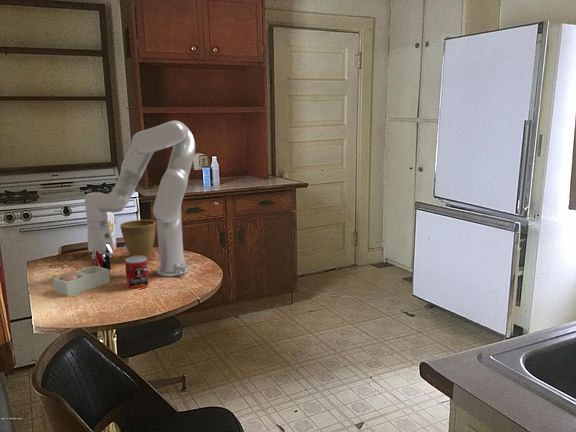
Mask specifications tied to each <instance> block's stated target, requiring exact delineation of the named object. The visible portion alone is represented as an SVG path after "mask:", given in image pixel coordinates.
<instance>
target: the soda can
mask: <svg viewBox="0 0 576 432" xmlns="http://www.w3.org/2000/svg"><path fill="white" fill-rule="evenodd" d="M105 253H107V251H106V252H105ZM93 254H94V259H93V260H94V263H95V266H98V267H101V268H103V266H102V262H103V259H102V255H101V254H99V253H98V251H97V250H94V251H93ZM106 256H107V255H105V257H106ZM110 274H111V270H109V275H110Z"/></svg>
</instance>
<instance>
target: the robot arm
mask: <svg viewBox="0 0 576 432" xmlns="http://www.w3.org/2000/svg"><path fill="white" fill-rule="evenodd" d="M169 147H172V150H171V155H170V157H169V161H168V164H167V165H168V166H167V168H166V171H165V172H164V174H163V175H162V177H161V179H160V182H159V186H158V190H157V193H156V197H155V200H154V202H153V203H154V204H153V207H152V213H153V216H154V219H156V232H157V245H158V246H157V247H158V257H159V267H158V268H156V270H155V272H156V275H158V276H161V277H176V276H181V275H184V274H187V273H188V271H189V269H190V268H191V266H190V265H189V264H187V261H186V260H185V258H184V245H183V244H184V242H183V241H184V240H183V224H182V223H183V221H182V203H183V199H184V196H185V194H186V189H187V187H188V182H189V176H190V173H191V169H192V166H193V161H194V157H195V153H196V141H195V138H194V135H193V133H192V132H191V130H190V129H189V127H188V126H187V125H185V124H184V123H183V122H181V121H179V120H171V121H167V122H164V123H161V124H159V125H157V126H154V127H153V126H152V127H151V128H147V129H144V130H141V131H140V130H139V131H138V132H136V133H134V135H133V136H132V139H131V145H130V147H129V149H128V151H127V153H126V155H125V156H124V159H123V161H122V163H121V165H120V172H119V173H120V174H119V176H118V179H117V181H116V182H115V185H114V186H113V188H112V190H111V192H109V193H106V194H105V193H103V192H99V191H98V192H95V191H94V192H88V193H86V194H85V196H84V206H85V214H86V215H85V217H86V224H87V225H86V226H87V246H88V247H87V251H88V252H89V254H90V256H91V259H92V261H93V262H92V264H93V266H95V263H94V254H93V251H94V250H97V251H98V253H99V254H101V255H102V259H103V262H102V266H103V268H105V269H109V271H111V266H112V265H111V260H112V257H113V256H114V255H115V252H113V251H114V249H113V241H112V236H111V232H110V229H109V228H108V218H107V212H114V213H118V212H120V211H123V210H124V208H126V206H127V205H128V203H129V201H131V198H132V197H133V194H134V191H135V190H136V188H137V186H138V184H139V181H140V180H141V179H142V176H143V175H144V173H145V170H146V169H147V166H148V164H149V162H150V161H151V158H152V157H153V154H154V153H156V152H158V151H161V150H163V149H167V148H169ZM106 251H107V253H105V252H106ZM105 255H107V256H106V257H105Z"/></svg>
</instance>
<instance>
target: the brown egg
mask: <svg viewBox="0 0 576 432" xmlns="http://www.w3.org/2000/svg"><path fill="white" fill-rule="evenodd" d="M61 276H62V280H64V281H71V280H74V279H77V278H78V273H76V271H73V272H71V271H70V272H66V273H63V274H62V275H61Z"/></svg>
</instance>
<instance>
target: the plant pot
mask: <svg viewBox="0 0 576 432" xmlns="http://www.w3.org/2000/svg"><path fill="white" fill-rule="evenodd" d="M119 226H120V231H121V234H122V238H123V240H124V244H125V246H126V248H127V249H126V250H127V251H128V253H129V255H130V256H129V257H131V256H137V255H141V256H145V257H146V258H147V260H149V259H150V258H151V255H152V251H153V247H154V243H155V236H156V227H157V221H155V220H152V219H139V220H130V221H125V222H122V223H120V224H119Z"/></svg>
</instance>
